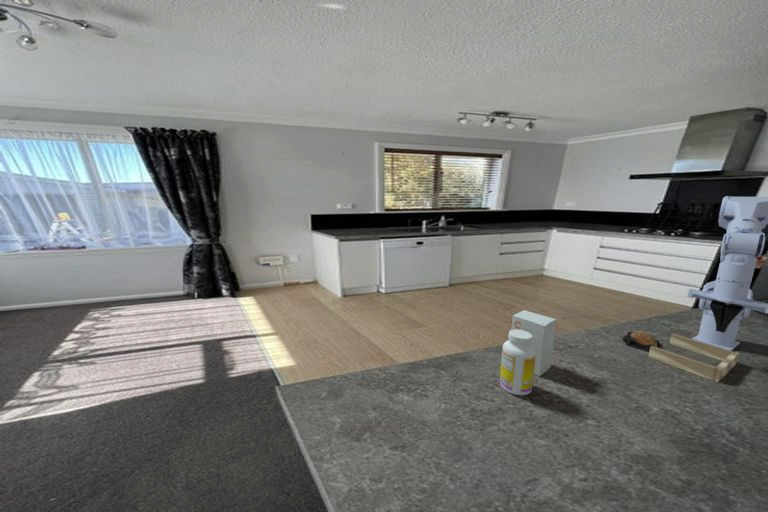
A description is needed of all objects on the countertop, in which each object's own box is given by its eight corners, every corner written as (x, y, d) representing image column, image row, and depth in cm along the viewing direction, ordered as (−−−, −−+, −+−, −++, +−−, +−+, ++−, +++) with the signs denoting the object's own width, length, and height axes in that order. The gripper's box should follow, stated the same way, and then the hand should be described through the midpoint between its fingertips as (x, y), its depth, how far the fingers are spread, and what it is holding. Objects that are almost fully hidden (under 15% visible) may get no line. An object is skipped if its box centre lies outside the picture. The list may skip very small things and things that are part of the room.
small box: (551, 368, 75) (557, 319, 73) (539, 377, 71) (546, 325, 69) (519, 354, 81) (524, 309, 79) (507, 362, 77) (512, 315, 75)
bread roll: (624, 335, 96) (626, 324, 95) (660, 343, 90) (662, 332, 89) (619, 346, 88) (621, 334, 88) (658, 356, 82) (660, 344, 82)
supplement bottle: (531, 383, 69) (537, 330, 67) (532, 400, 63) (538, 343, 61) (500, 375, 72) (505, 325, 69) (498, 391, 66) (503, 337, 63)
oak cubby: (670, 343, 89) (672, 333, 89) (736, 363, 78) (739, 353, 78) (648, 356, 81) (650, 346, 81) (718, 382, 70) (720, 370, 70)
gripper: (688, 275, 79) (677, 323, 82) (776, 290, 67) (761, 346, 70) (697, 272, 83) (686, 318, 86) (782, 286, 71) (767, 339, 73)
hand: (720, 330), depth 78 cm, fingers closed
